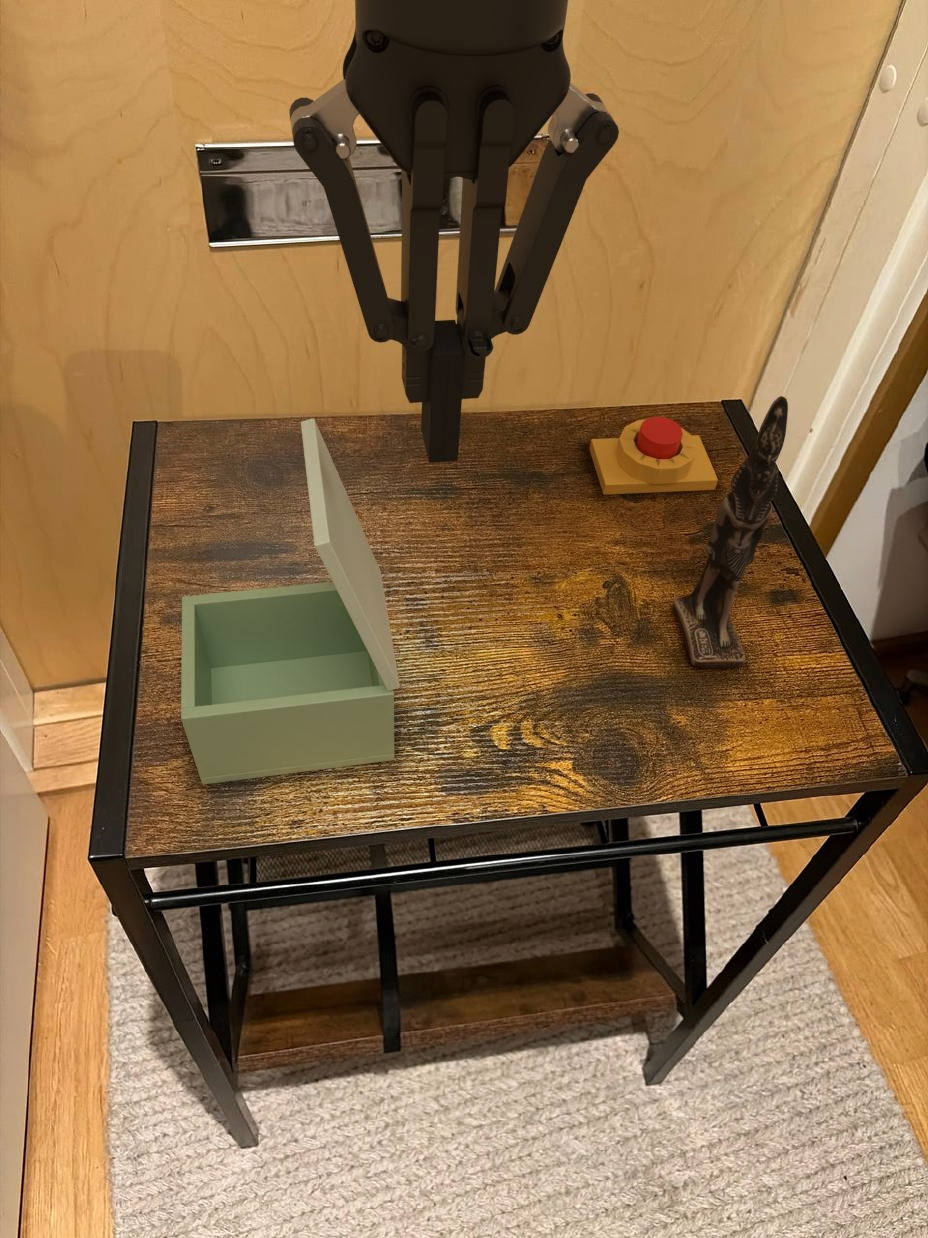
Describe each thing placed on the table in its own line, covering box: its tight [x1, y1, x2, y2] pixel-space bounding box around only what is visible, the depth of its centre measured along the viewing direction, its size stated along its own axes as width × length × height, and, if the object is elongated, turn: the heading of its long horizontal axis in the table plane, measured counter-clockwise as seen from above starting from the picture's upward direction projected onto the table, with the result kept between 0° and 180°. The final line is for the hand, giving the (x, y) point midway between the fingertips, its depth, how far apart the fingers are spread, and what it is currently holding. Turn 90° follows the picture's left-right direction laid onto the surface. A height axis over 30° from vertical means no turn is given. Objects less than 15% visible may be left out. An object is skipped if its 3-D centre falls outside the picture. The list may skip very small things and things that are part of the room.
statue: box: [672, 395, 789, 669], centre depth 64 cm, size 4×7×20 cm, turn 6°
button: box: [637, 416, 683, 459], centre depth 81 cm, size 4×4×2 cm
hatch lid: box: [300, 417, 401, 691], centre depth 54 cm, size 14×10×1 cm
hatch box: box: [180, 581, 395, 785], centre depth 62 cm, size 13×10×8 cm
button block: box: [588, 418, 719, 496], centre depth 82 cm, size 10×6×3 cm, turn 97°
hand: (439, 444), depth 49 cm, fingers closed
